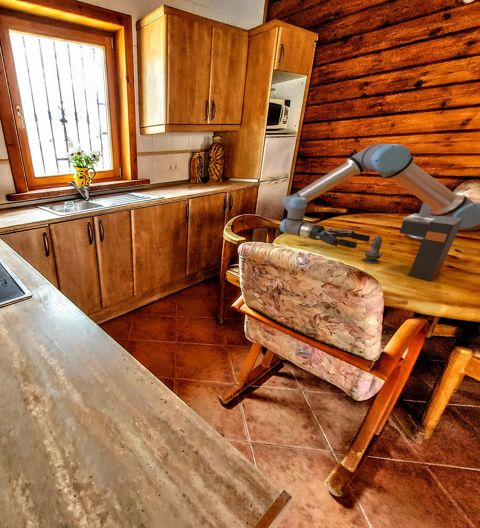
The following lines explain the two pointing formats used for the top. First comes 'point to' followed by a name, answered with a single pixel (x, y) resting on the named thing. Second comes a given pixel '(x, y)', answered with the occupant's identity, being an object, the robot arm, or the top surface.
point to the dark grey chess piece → (374, 251)
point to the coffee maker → (430, 242)
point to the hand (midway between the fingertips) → (363, 242)
